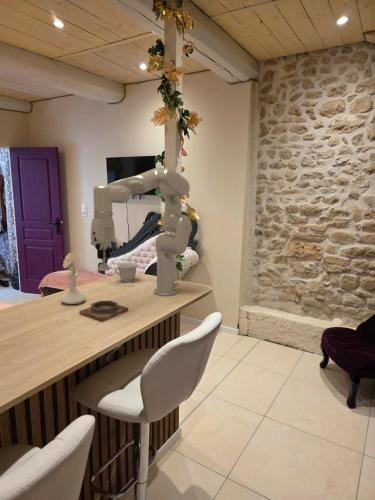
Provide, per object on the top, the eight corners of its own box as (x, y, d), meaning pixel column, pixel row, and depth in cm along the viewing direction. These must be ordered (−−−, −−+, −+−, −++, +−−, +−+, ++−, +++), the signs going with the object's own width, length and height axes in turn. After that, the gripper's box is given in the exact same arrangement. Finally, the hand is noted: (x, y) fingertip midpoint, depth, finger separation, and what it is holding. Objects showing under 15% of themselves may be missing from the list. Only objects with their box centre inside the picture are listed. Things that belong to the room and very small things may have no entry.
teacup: (109, 281, 196) (108, 265, 194) (128, 277, 207) (128, 261, 205) (122, 286, 188) (122, 269, 186) (141, 281, 200) (141, 264, 198)
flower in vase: (61, 299, 164) (59, 249, 160) (85, 297, 168) (84, 248, 163) (60, 308, 152) (57, 254, 147) (86, 306, 156) (84, 253, 151)
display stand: (106, 304, 159) (106, 297, 158) (128, 310, 152) (128, 303, 151) (79, 314, 146) (79, 306, 145) (101, 322, 138) (101, 314, 138)
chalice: (97, 271, 140) (96, 229, 137) (93, 268, 146) (93, 227, 143) (114, 270, 144) (114, 228, 140) (110, 267, 150) (110, 227, 146)
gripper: (111, 213, 150) (111, 253, 153) (81, 215, 136) (82, 259, 139) (123, 214, 146) (123, 256, 149) (94, 217, 132) (95, 262, 135)
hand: (103, 257), depth 144 cm, fingers closed on chalice, 3 cm apart
